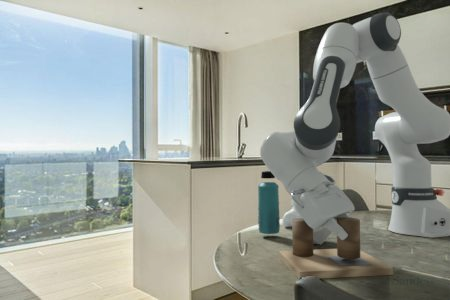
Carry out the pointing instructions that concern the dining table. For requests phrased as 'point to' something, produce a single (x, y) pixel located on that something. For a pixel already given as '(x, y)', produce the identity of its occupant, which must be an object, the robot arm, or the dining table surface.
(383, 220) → the dining table surface
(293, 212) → the duck figurine
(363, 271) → the board
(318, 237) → the die
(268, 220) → the beverage bottle
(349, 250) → the walnut column
